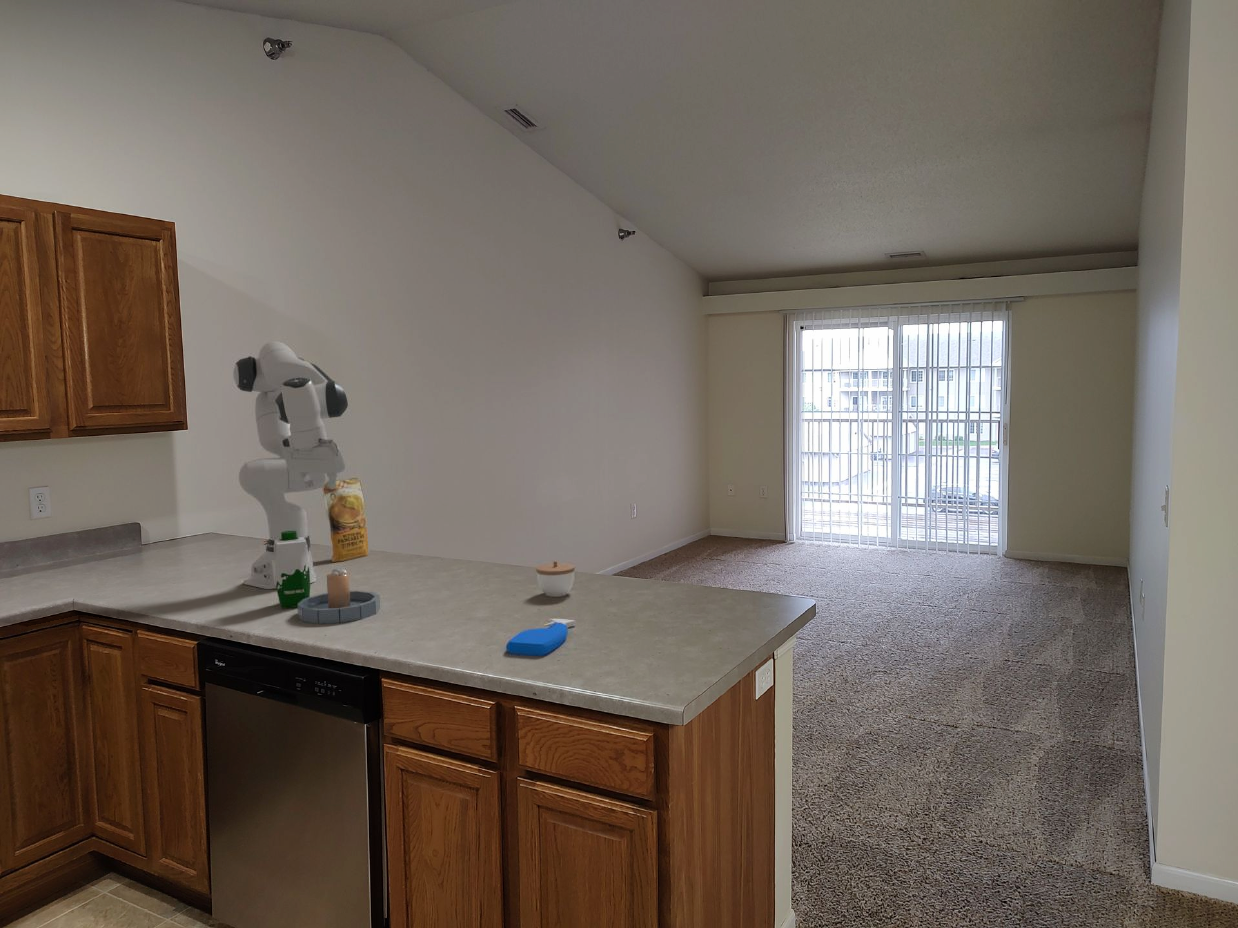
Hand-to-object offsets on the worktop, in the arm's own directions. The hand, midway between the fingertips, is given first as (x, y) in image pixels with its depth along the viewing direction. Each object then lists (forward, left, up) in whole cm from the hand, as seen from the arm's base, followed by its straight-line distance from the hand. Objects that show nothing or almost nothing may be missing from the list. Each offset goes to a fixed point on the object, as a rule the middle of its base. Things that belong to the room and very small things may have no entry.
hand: (320, 487), depth 228 cm
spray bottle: (+73, -5, -33) cm, 81 cm away
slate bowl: (+10, -5, -32) cm, 34 cm away
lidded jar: (+54, +33, -33) cm, 71 cm away
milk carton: (-9, -3, -33) cm, 34 cm away
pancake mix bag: (-43, +51, -33) cm, 74 cm away
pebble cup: (+10, -5, -31) cm, 33 cm away
